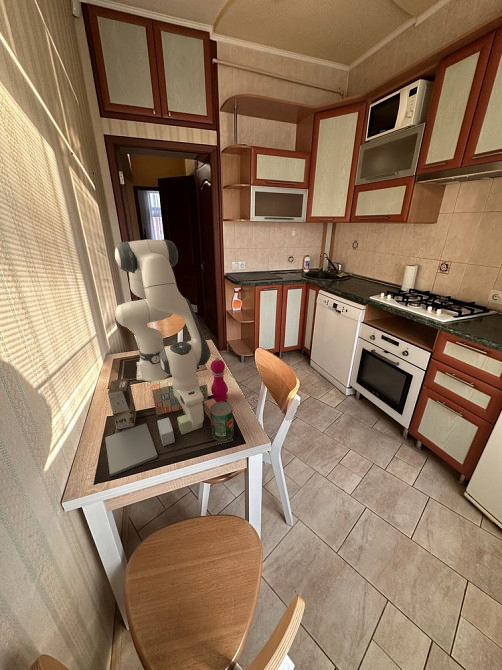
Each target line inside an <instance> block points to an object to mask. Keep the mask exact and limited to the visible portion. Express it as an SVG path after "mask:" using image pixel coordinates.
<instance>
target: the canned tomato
mask: <svg viewBox="0 0 502 670" xmlns="http://www.w3.org/2000/svg"><path fill="white" fill-rule="evenodd" d="M233 407H234V406H233V404H231V403H230V402H227V401H224V402H223V401H222V402H217V403H214V404H213V405H212V406H211V407H210V415H211V419H210V425H211V435H212V437H213V439H214V440H215V441H220V442H223V441H224V442H225V441H228V440H230V439H231V438H232V437H233V436H234V433H235V431H234V428H235V427H234V409H233Z"/></svg>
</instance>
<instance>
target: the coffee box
mask: <svg viewBox="0 0 502 670" xmlns="http://www.w3.org/2000/svg"><path fill="white" fill-rule="evenodd" d="M107 396H108V400H109V403H110V408H111V411H112V415H113V416H112V417H113V420H114V424H115V427H116V430H121V429H127V428H134V427H135V422H136V417H137V416H136V415H137V410H136V404H135V400H134V396H133V391H132V386H131V382H130V378H129V377H127V378H122V379H117V380H111V382H110V386H109V387H108V392H107Z"/></svg>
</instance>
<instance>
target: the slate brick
mask: <svg viewBox="0 0 502 670" xmlns="http://www.w3.org/2000/svg"><path fill="white" fill-rule="evenodd" d="M157 427H158V431H159V432H158V433H159V437H160V440H161V444H162V447H164V446H167V445H170V444H173V443H175V442H176V441H175V435H174V430H173V427H172V424H171V421H170V418H169V417H165V418H162V419H159V420H157Z"/></svg>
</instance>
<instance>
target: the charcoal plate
mask: <svg viewBox="0 0 502 670" xmlns="http://www.w3.org/2000/svg"><path fill="white" fill-rule="evenodd" d="M104 439H105V447H106V448H105V449H106V452H107V453H106V455H107V462H108V463H107V464H108V470H109V476H110V477H114V476H116V475H118V474H121V473H123V472H125V471H128V470H130V469H133V468H135V467H137V466H140V465H143V464H145V463H147V462H150V461H152V460H156V459H157V458H158V456H159V455H158V453H157V450H156V447H155V443H154V441H153V438H152V435H151V432H150V430H149V427H148V425H147V423H143V424H139V425H137V426H133V427H130V428H128V429H125V430H122V431H120V432H117V433H113V434H111V435H109V436H106V437H104Z"/></svg>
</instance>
